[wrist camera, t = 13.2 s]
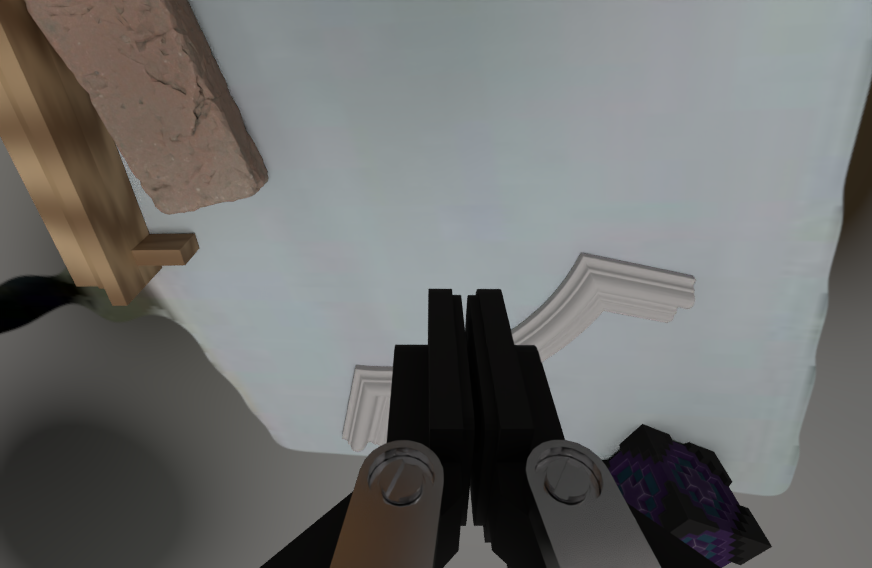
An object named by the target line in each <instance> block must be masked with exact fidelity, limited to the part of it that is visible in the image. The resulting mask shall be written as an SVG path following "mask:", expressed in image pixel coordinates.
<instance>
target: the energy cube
mask: <svg viewBox="0 0 872 568" xmlns="http://www.w3.org/2000/svg"><path fill="white" fill-rule="evenodd" d="M620 449H621V451H620V452H619V453H618V454H617V455H616V456H614V457H613V458H612V459H611V460H610V461H606V460H602V461H603V463H604V464H605V465H606V467H607V468H608V470H609V472H610V473H611V475H612V477H613V479H614V481H615V483H616V485H617V486H618V488H619V490H620V492H621V494H622V496H623V498H624V499H625V501H626V502H627V503H628V504H630V505H631V506H633V507H634V508H635V509H637V510H638V511H640V512H641V513H643V514H644V515H646V516H647V517H648V518H650V519H651V520H653V521H654V522H656V523H657V524H659V525H660V526H661V527H663V528H664V529H666V530H667V531H669V532H670V533H671V534H673V535H674V536H676V537H677V538H679V539H680V540H682V541H683V542H684V543H686V544H687V545H689V546H690V547H692V548H693V549H695V550H696V551H697V552H699V553H700V554H702V555H703V556H705V557H706V558H708V559H709V560H710V561H712V562H713V563H715V564H716V565H718V566H719V567H720V568H722V567H724V566H726V565H727V564H729V563H730V562H733V563H736V564H739V565H742V564H743V563H745V562H747V561H748V560H750V559H752V558H753V557H755V556H757V555H759V554H760V553H762V552H764V551H765V550H767V549H769V548H771V547H772V546H771V544H770V543H769V541H768V539H767V538H766V537H765V534H764V533H763V531H762V529H761V528H760V526H759V525H758V523H757V521H756V520H755V518H754V517H753V515H752V513H751V512H750V510H749V509H748V508H746V507H743V506H740V505H739V503H738V501H737V500H736V498H735V496H734V495H733V493H732V491H731V490H730V488H729V486H730V484H731V483H732V480H731V479H730V477H729V476H728V474H727V472H726V471H725V469H724V467H723V466H722V464H721V463H720V461H719V459H718V458H717V456H716V454H715V453H714V452H713V451H710V450H708V449H705V448H703V447H700V446H697V445H695V444H692V443H690V442H688V443H687V444H686V445H685V446H684V445H681V444H678V443H676V442H673V441H672V439H671V437H670V435H669V434H667V433H664V432H662V431H659V430H656V429H654V428H651V427H649V426H646V425H644V424H642V425H641V426H640V427H639V428H637V429H636V430H635V431H634V432H633V433H632V434H631V435H630V436H629V437H627V438H626V439H625V440H624V441H623V442H622V443H621V444H620Z"/></svg>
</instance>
